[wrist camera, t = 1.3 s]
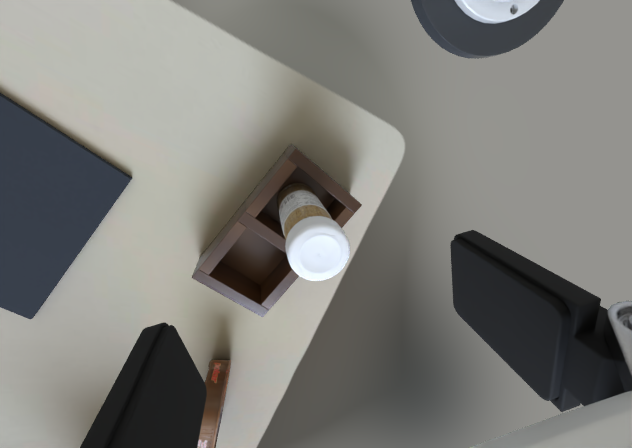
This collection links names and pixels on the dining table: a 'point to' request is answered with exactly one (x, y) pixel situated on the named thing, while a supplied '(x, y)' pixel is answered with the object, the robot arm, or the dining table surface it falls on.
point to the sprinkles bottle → (311, 234)
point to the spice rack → (266, 236)
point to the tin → (214, 402)
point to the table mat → (45, 205)
